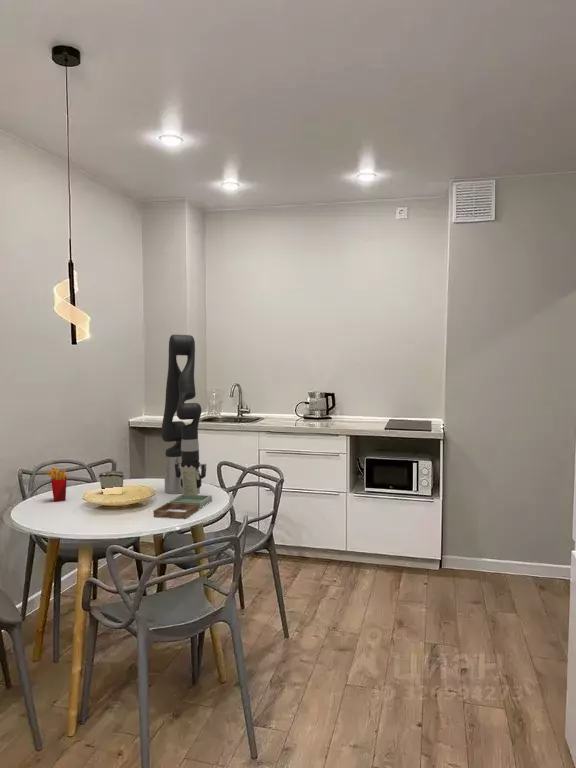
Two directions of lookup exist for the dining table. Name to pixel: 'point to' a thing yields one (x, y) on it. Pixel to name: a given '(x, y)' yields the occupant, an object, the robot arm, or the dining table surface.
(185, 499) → the green tray
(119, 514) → the dining table surface
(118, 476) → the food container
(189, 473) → the skincare box
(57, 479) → the french fries
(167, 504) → the walnut bin
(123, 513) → the dining table surface
